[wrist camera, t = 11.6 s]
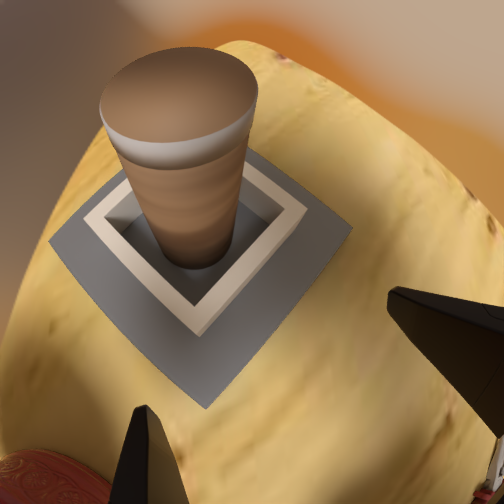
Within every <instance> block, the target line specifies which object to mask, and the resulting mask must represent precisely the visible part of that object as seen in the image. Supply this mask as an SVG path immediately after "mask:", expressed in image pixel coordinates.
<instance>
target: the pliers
mask: <svg viewBox="0 0 504 504" xmlns="http://www.w3.org/2000/svg"><path fill="white" fill-rule="evenodd" d="M503 476H504V435H503V436H502V437H501V438H500V440H499V443H498V446H497V449H496V451H495V454H494V457H493V459H492V462H491V464H490V467H489V469H488V472H487V476H486V479H487V480H486V482H485V484H484V486H483V488H482V489H481V490H480V492H479V491H475V493H474V494H473V496H475V497H476V498H475V500H474V501H473V503H472V504H486V503H487V502H488V501H489V500H490V499H491V498H492V496H493V495H494V494H495V493H496V492H497V491H498V489H499V488H500V487H501V486H502V484H503V483H504V479H503Z"/></svg>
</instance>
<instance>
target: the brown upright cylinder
mask: <svg viewBox="0 0 504 504" xmlns="http://www.w3.org/2000/svg"><path fill="white" fill-rule="evenodd" d="M257 96H258V84H257V81H256V78H255V76H254V74H253V73H252V71H251V70H250V69H249V67H248V66H247V65H246V64H244V63H243V62H242V61H241V60H239V59H237V58H236V57H234V56H232V55H230V54H227V53H224V52H222V51H218V50H214V49H208V48H200V47H180V48H173V49H167V50H162V51H158V52H155V53H152V54H149V55H146V56H144V57H142V58H139V59H137V60H135V61H134V62H132V63H130V64H129V65H127V66H126V67H124V68H123V69H122V70H120V71H119V72H118V73H117V74H116V75H115V76H114V77H113V78H112V79H111V80H110V81H109V83H108V84H107V86H106V87H105V89H104V91H103V94H102V97H101V101H100V114H101V118H102V120H103V123H104V126H105V128H106V131H107V133H108V136H109V139H110V141H111V143H112V145H113V147H114V148H115V150H116V152H117V155H118V157H119V159H120V162H121V164H122V167H123V169H124V171H125V174H126V176H127V178H128V181H129V183H130V185H131V188H132V190H133V192H134V194H135V197H136V199H137V201H138V203H139V205H140V208H141V210H142V212H143V214H144V216H145V218H146V220H147V223H148V225H149V227H150V229H151V231H152V233H153V235H154V237H155V239H156V241H157V243H158V245H159V247H160V249H161V251H162V253H163V254H164V256H165V257H166V258H167V259H168V260H169V261H170V262H171V263H173V264H174V265H176V266H178V267H180V268H183V269H188V270H200V269H205V268H208V267H210V266H213V265H214V264H216V263H217V262H219V261H220V260H221V259H222V258H223V257H224V256H225V255H226V253H227V252H228V250H229V248H230V246H231V243H232V238H233V232H234V225H235V219H236V212H237V206H238V199H239V193H240V187H241V181H242V174H243V168H244V162H245V156H246V150H247V144H248V138H249V133H250V129H251V126H252V123H253V118H254V113H255V107H256V102H257Z"/></svg>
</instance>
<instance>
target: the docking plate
mask: <svg viewBox="0 0 504 504" xmlns="http://www.w3.org/2000/svg"><path fill="white" fill-rule="evenodd" d="M352 229H353V227H352V226H350V225H349V224H348V223H347V222H346V221H344V220H343V219H342V218H341V217H340V216H338V215H337V214H336V213H335V212H333V211H332V210H331V209H330V208H329V207H327V206H326V205H325V204H324V203H322V202H321V201H320V200H319V199H317V198H316V197H315V196H314V195H312V194H311V193H310V192H308V191H307V190H306V189H305V188H303V187H302V186H301V185H299V184H298V183H297V182H296V181H294V180H293V179H292V178H290V177H289V176H288V175H286V174H285V173H284V172H282V171H281V170H280V169H278V168H277V167H275V166H274V165H273V164H271V163H270V162H269V161H267V160H266V159H264V158H263V157H262V156H260V155H259V154H257V153H256V152H255V151H253V150H252V149H250V148H249V147H248V146H247V150H246V156H245V162H244V168H243V174H242V181H241V187H240V193H239V199H238V206H237V212H236V219H235V225H234V232H233V238H232V243H231V246H230V248H229V250H228V252H227V253H226V255H225V256H224V257H223V258H222V259H221V260H220V261H219V262H217V263H216V264H214V265H213V266H210V267H208V268H205V269H200V270H188V269H183V268H180V267H178V266H176V265H174V264H173V263H171V262H170V261H169V260H168V259H167V258H166V257H165V256H164V254H163V253H162V251H161V249H160V247H159V245H158V243H157V241H156V239H155V237H154V235H153V233H152V231H151V229H150V227H149V225H148V223H147V220H146V218H145V216H144V214H143V212H142V210H141V208H140V205H139V203H138V201H137V199H136V197H135V194H134V192H133V190H132V188H131V185H130V183H129V181H128V178H127V176H126V174H125V171H124V169H122V170H121V171H119V172H118V173H117V174H116V175H115V176H114V177H113V178H111V179H110V180H109V181H108V182H107V183H106V184H105V185H104V186H103V187H101V188H100V189H99V190H98V191H97V192H96V193H95V194H94V195H93V196H92V197H91V198H90V199H89V200H88V201H86V202H85V203H84V204H83V205H82V206H81V207H80V208H79V209H78V210H77V211H76V212H75V213H74V214H73V215H72V216H71V217H70V218H69V219H68V220H67V221H66V222H65V224H64V225H63V226H62V227H61V228H60V229H59V230H58V231H57V232H56V233H55V234H54V235H53V236H52V237H51V239H50V240H49V241H48V242H49V243H50V245H51V246H52V247H53V249H54V250H55V252H56V253H57V255H58V256H59V257H60V259H61V260H62V261H63V263H64V264H65V265H66V267H67V268H68V269H69V271H70V272H71V273H72V275H73V276H74V277H75V279H76V280H77V281H78V282H79V284H80V285H81V286H82V287H83V289H84V290H85V291H86V292H87V293H88V295H89V296H90V297H91V298H92V299H93V301H94V302H95V303H96V304H97V305H98V307H99V308H100V309H101V310H102V311H103V312H104V313H105V315H106V316H107V317H108V318H109V319H110V320H111V321H112V322H113V323H114V325H115V326H116V327H117V328H118V329H119V330H120V331H121V332H122V333H123V334H124V335H125V336H126V337H127V338H128V339H129V340H130V341H131V343H132V344H133V345H134V346H135V347H136V348H137V349H138V350H139V351H140V352H141V353H142V354H143V355H144V356H145V357H147V358H148V359H149V360H150V361H151V362H152V363H153V364H154V365H155V366H156V367H157V368H158V369H159V370H160V371H161V372H162V373H163V374H165V375H166V376H167V377H168V378H169V379H170V380H171V381H172V382H173V383H175V384H176V385H177V386H178V387H179V388H180V389H181V390H183V391H184V392H185V393H186V394H187V395H188V396H190V397H191V398H192V399H193V400H194V401H196V402H197V403H198V404H199V405H201V406H202V407H203V408H204V409H207V408H208V407H209V406H210V405H211V404H212V403H213V402H214V400H215V399H216V398H217V397H218V396H219V395H220V394H221V393H222V392H223V391H224V389H225V388H226V387H227V386H228V385H229V384H230V383H231V382H232V381H233V379H234V378H235V377H236V376H237V375H238V374H239V373H240V371H241V370H242V369H243V368H244V367H245V366H246V365H247V363H248V362H249V361H250V360H251V359H252V358H253V356H254V355H255V354H256V353H257V352H258V351H259V349H260V348H261V347H262V346H263V345H264V343H265V342H266V341H267V340H268V339H269V337H270V336H271V335H272V334H273V333H274V331H275V330H276V329H277V328H278V326H279V325H280V324H281V323H282V321H283V320H284V319H285V318H286V317H287V315H288V314H289V313H290V311H291V310H292V309H293V308H294V306H295V305H296V304H297V303H298V301H299V300H300V299H301V298H302V296H303V295H304V294H305V292H306V291H307V290H308V288H309V287H310V286H311V285H312V283H313V282H314V281H315V279H316V278H317V277H318V275H319V274H320V273H321V271H322V270H323V269H324V267H325V266H326V265H327V263H328V262H329V261H330V259H331V258H332V256H333V255H334V254H335V252H336V251H337V250H338V248H339V247H340V245H341V244H342V243H343V241H344V240H345V238H346V237H347V236H348V234H349V233H350V231H351V230H352Z"/></svg>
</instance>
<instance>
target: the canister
mask: <svg viewBox="0 0 504 504" xmlns="http://www.w3.org/2000/svg"><path fill="white" fill-rule="evenodd" d="M111 488H112V485H110V484H109V483H108V482H107V481H106V480H104V479H103V478H102V477H101V476H99V475H98V474H96V473H95V472H94V471H92V470H91V469H89V468H88V467H86V466H84V465H83V464H81V463H79V462H77V461H76V460H74V459H72V458H69V457H67V456H65V455H62V454H60V453H57V452H53V451H49V450H43V449H33V450H19V451H16V452H13V453H10V454H8V455H6V456H5V457H3V458H2V459H1V460H0V504H108V501H110V500H109V496H110V492H111Z"/></svg>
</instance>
